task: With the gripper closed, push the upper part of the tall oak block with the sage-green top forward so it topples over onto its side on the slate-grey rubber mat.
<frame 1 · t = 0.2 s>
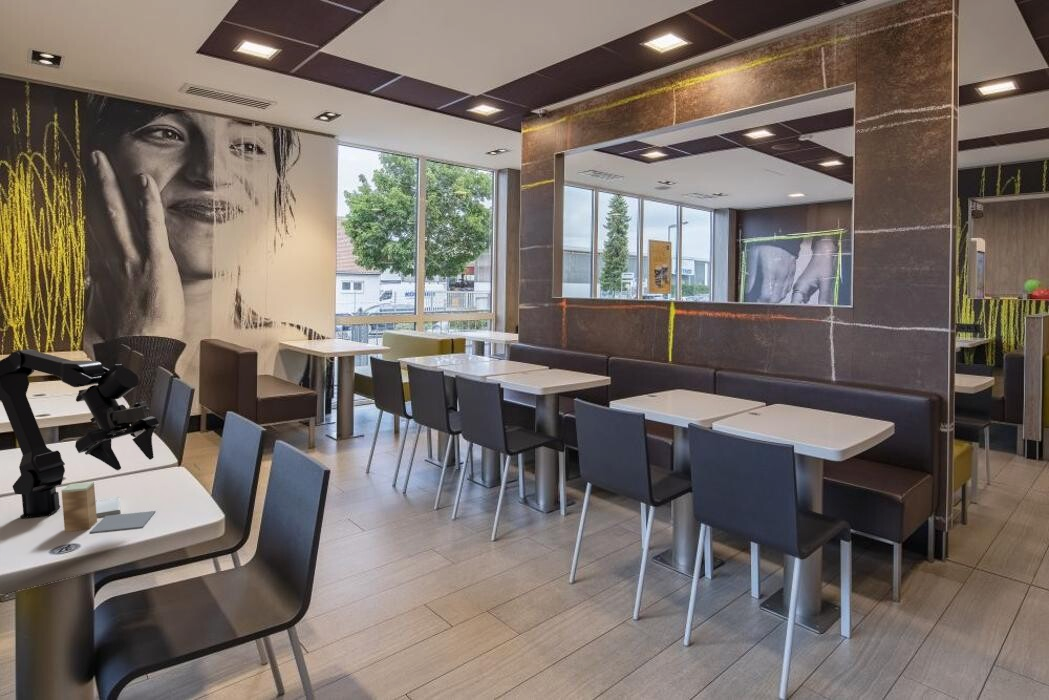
hand: (136, 464, 150), 15 cm above the table, tool tilted 30°, fingers open, 9 cm apart
grey mat: (124, 522, 152), on the table
oak block: (81, 526, 149), on the table
hard drive: (101, 512, 161), on the table
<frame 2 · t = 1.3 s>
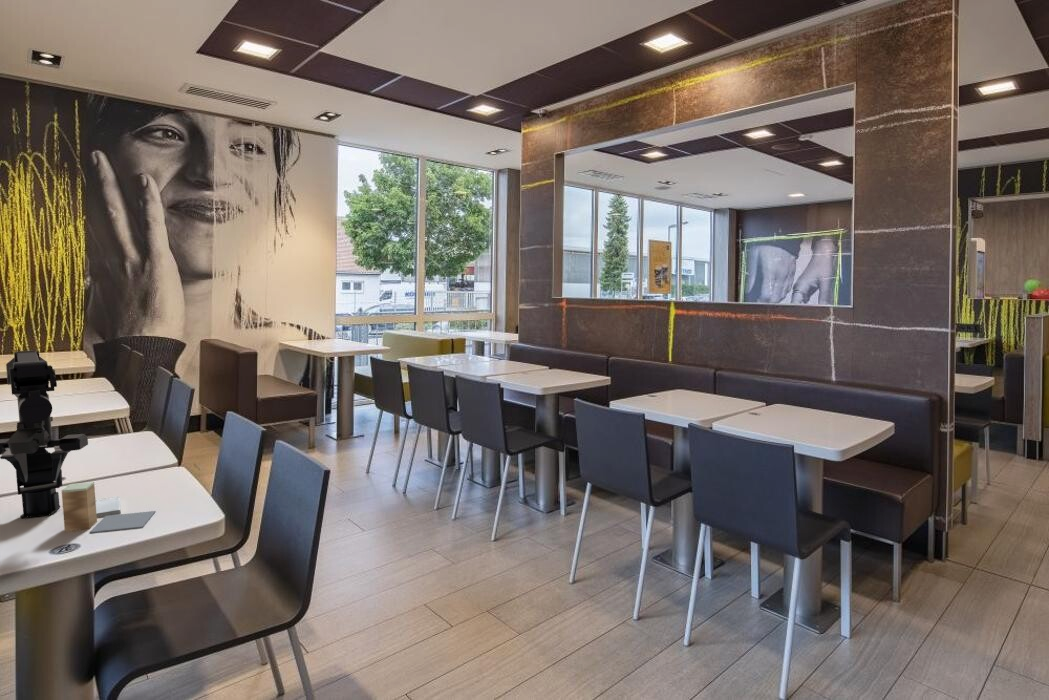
hand: (40, 480, 146), 12 cm above the table, tool pointing down, fingers open, 6 cm apart
nothing on the table moved.
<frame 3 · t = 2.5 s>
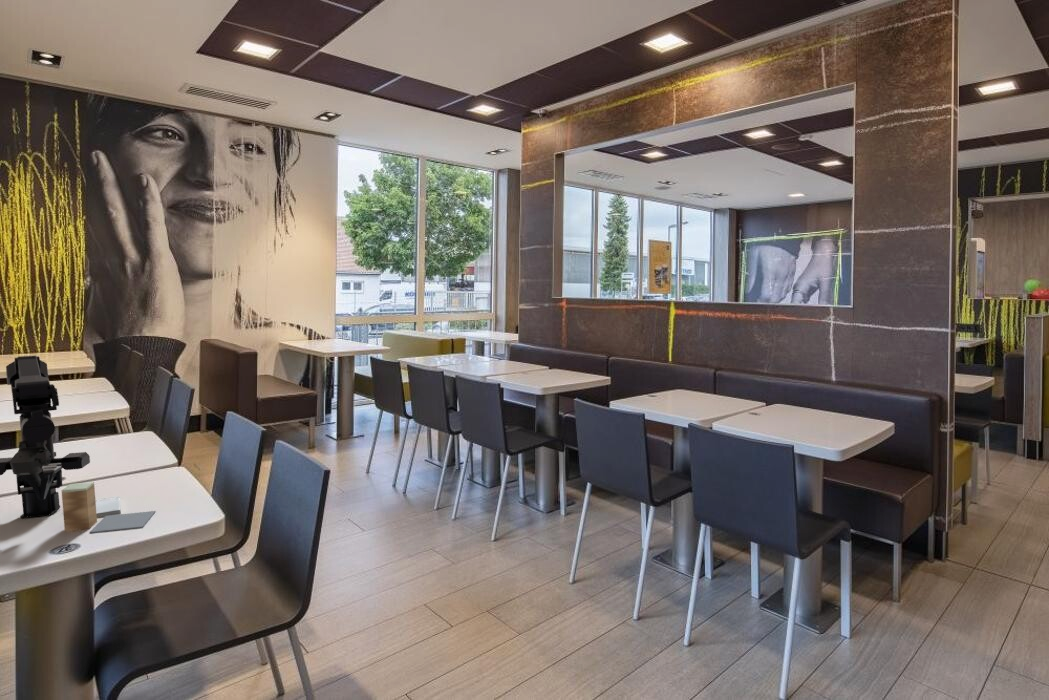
hand: (42, 499, 147), 8 cm above the table, tool pointing down, fingers closed
nothing on the table moved.
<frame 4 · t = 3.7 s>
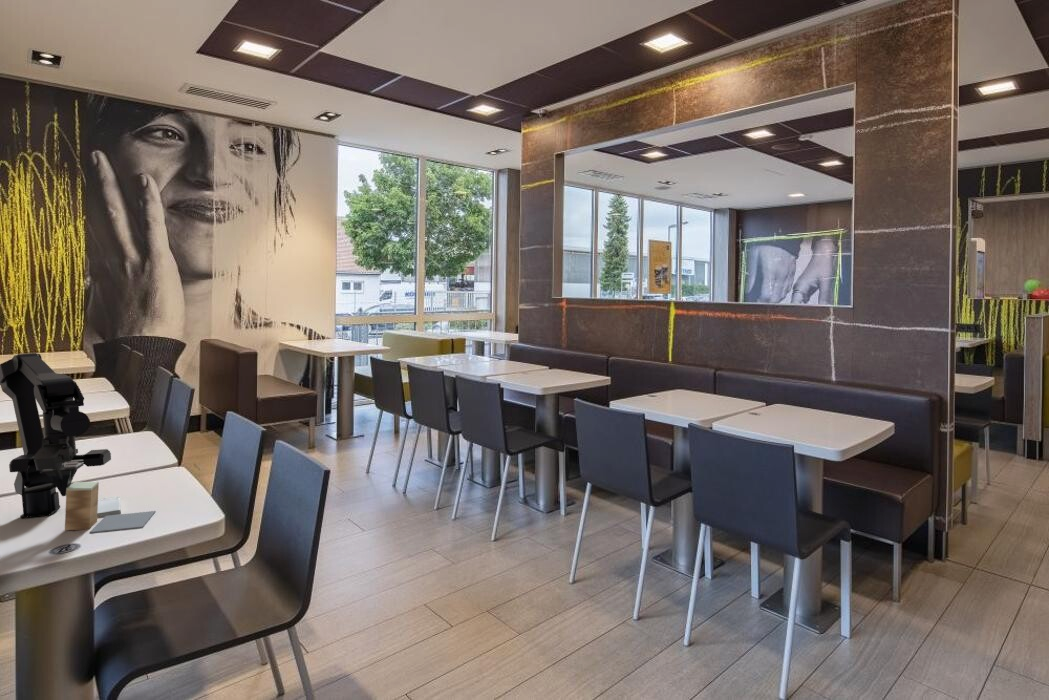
hand: (64, 495, 148), 8 cm above the table, tool pointing down, fingers closed
oak block: (81, 525, 149), on the table, tilted 6°, touching gripper
everything else where it was.
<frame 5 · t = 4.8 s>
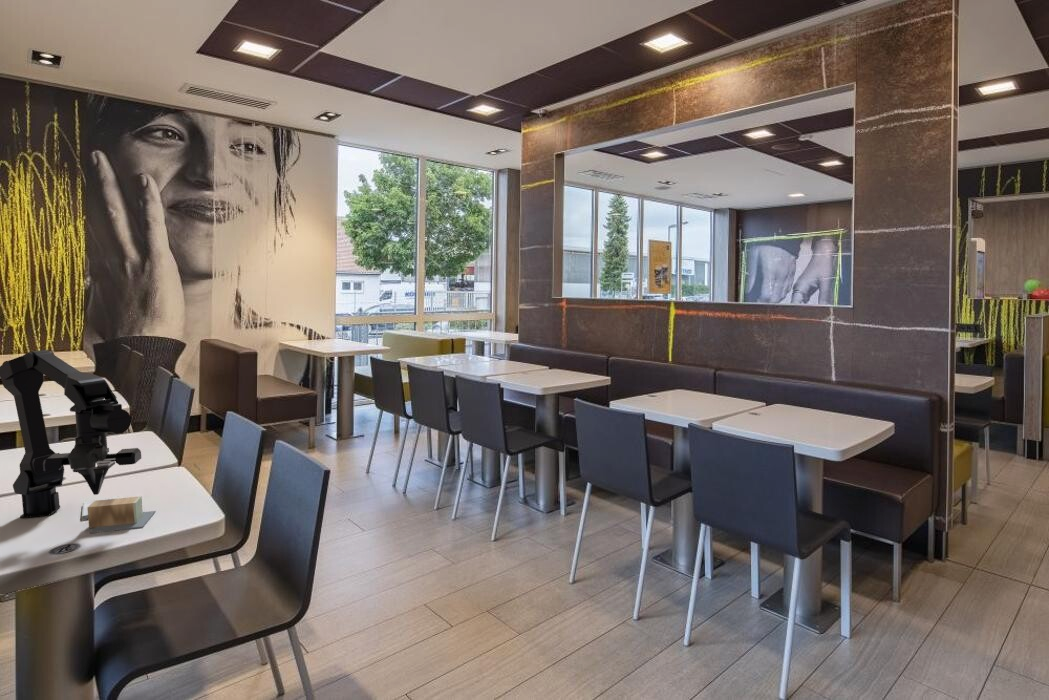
hand: (96, 494, 150), 8 cm above the table, tool pointing down, fingers closed
oak block: (92, 514, 150), point 3 cm above the table, tilted 90°, touching grey mat
everything else where it was.
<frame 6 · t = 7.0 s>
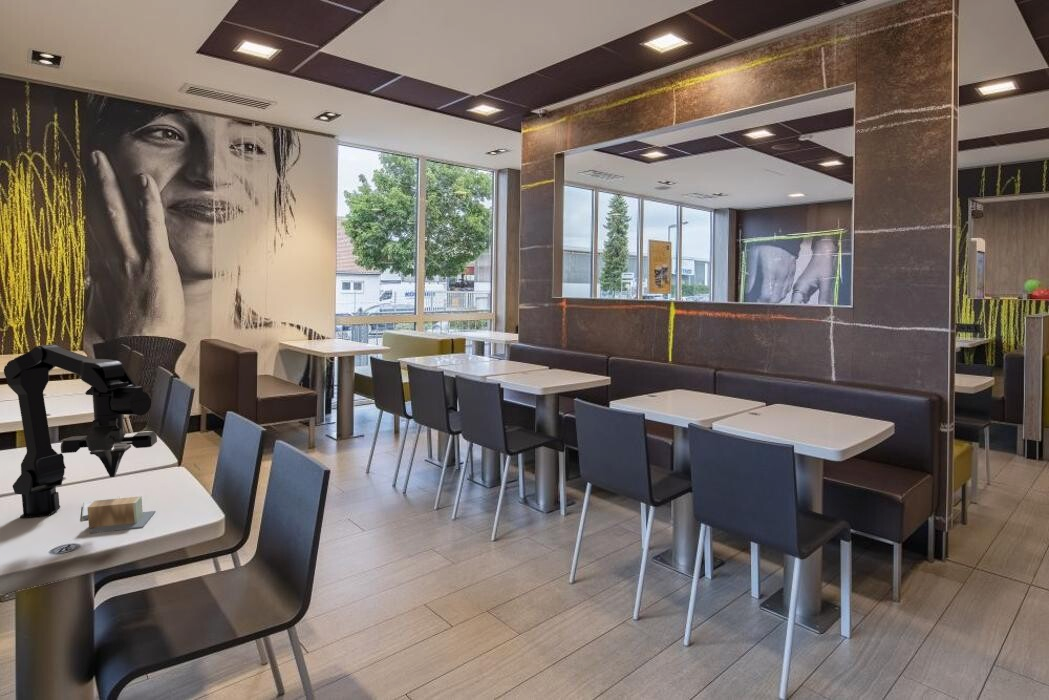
hand: (112, 476, 151), 11 cm above the table, tool pointing down, fingers closed
nothing on the table moved.
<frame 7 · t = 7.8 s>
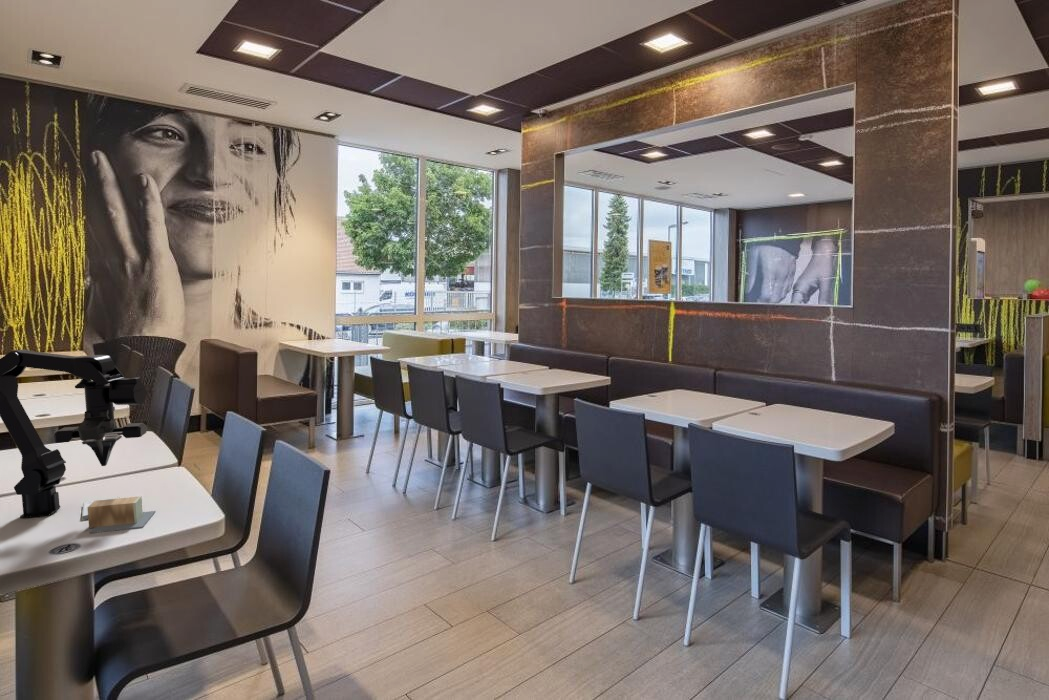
hand: (104, 465, 159), 12 cm above the table, tool pointing down, fingers closed
nothing on the table moved.
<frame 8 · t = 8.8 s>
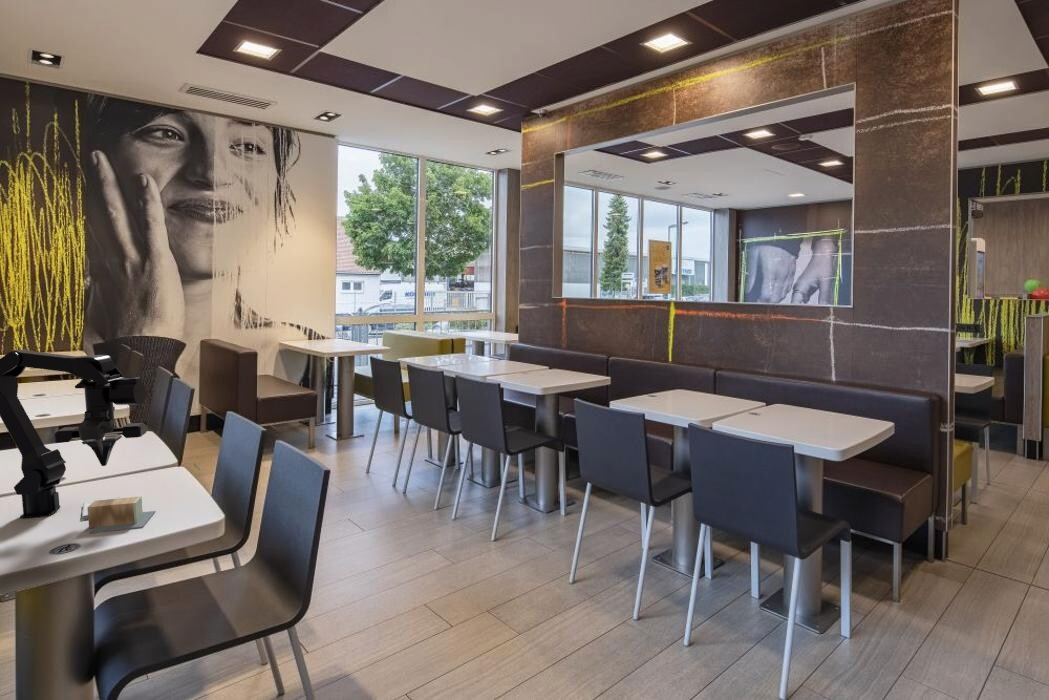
hand: (104, 465, 159), 12 cm above the table, tool pointing down, fingers closed
nothing on the table moved.
at the end: oak block tilted 90°; oak block inside the target area (4.1 cm from its centre), point 2.8 cm above the table; oak block touching grey mat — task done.
